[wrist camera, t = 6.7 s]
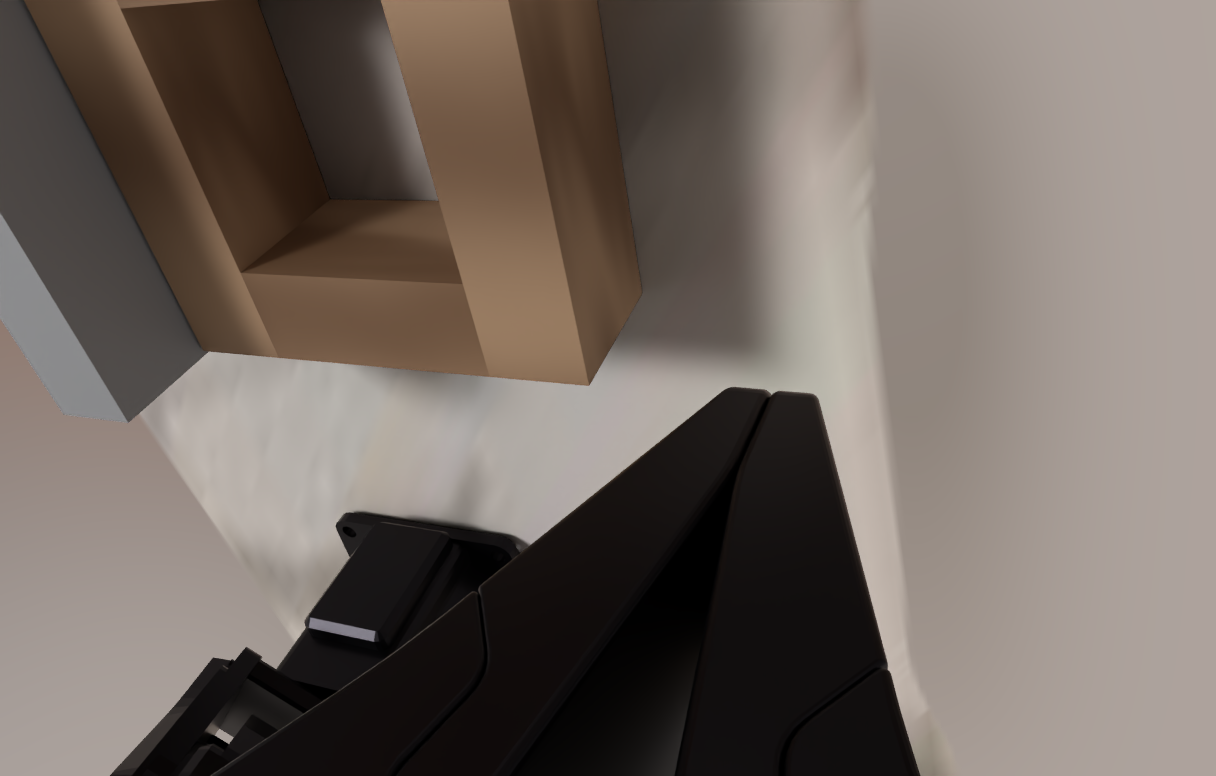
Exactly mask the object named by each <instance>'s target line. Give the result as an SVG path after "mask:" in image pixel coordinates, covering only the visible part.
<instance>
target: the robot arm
mask: <svg viewBox="0 0 1216 776" xmlns="http://www.w3.org/2000/svg"><path fill="white" fill-rule="evenodd" d="M336 529H337V531H338V533H339V536H340V538H341V540H342V542H343V544H344V546H345V548H346V550H347V552H348V554H349V557H350V558H349V559H348V561H347V562H346V564H345V565H344V566H343V568H342V569H341V570H340V572H339V573H338V575H337V576H336V577H335V579H334V580H333V582H332V583H331V584H330V586H329V587H328V588H327V590H326V591H325V593H324V594H323V595H322V597H321V598H320V599H319V601H318V602H317V604H316V605H315V606H314V608H313V609H312V610H311V612H310V613H309V615H308V616H307V617H306V620H305V626H306V629H305V630H304V631H303V633H302V634H301V636H300V637H299V638H298V640H297V641H296V642H295V644H294V645H293V647H292V648H291V649H290V651H289V652H288V654H287V655H286V657H285V658H284V660H283V661H282V662H281V663H280V665H279V666H278V668H277V669H275V668H273V667H271V666H270V665H268V664H267V663H265V662H263V661H262V660H261V658H262V656H260V655H259V654H257V653H255V652H254V651H252V650H251V649H249V648H247V647H246V648H245V649H244V650H243V651H242V653H241V654H240V655H239V656H238V657H237V659H236V660H235V661H234V660H233V659H232V660H231V661H230V660H224V659H218V658H213V659H212V660H211V661H210V662H209V663H208V665H207V666H206V667H205V669H204V670H203V671H202V672H201V674H200V675H199V676H198V677H197V679H196V680H195V681H194V682H193V684H192V685H191V686H190V687H189V689H188V690H187V691H186V692H185V694H184V695H183V696H182V697H181V699H180V700H179V701H178V702H177V704H176V705H175V706H174V707H173V708H172V709H171V710H170V711H169V713H168V714H167V715H166V716H165V717H164V718H163V719H162V720H161V721H160V722H159V723H158V725H157V726H156V727H155V728H154V729H153V730H152V731H151V732H150V733H149V734H148V735H147V736H146V738H144V739H143V741H142V742H141V743H140V744H139V745H138V746H137V747H136V748H135V749H134V750H133V751H132V752H131V753H130V755H129V756H128V757H127V758H126V759H125V760H124V761H123V762H122V763H121V764H120V765H119V766H118V767H117V768H116V769H115V770H114V772H113V773H112V774H111V775H110V776H920V774H919V770H918V767H917V764H916V760H915V757H914V754H913V751H912V747H911V744H910V741H909V737H908V734H907V731H906V728H905V724H904V721H903V718H902V714H901V711H900V707H899V703H898V700H897V696H896V692H895V688H894V684H893V680H892V676H891V673H890V672H889V670H887V669H888V663H887V659H886V655H885V652H884V648H883V644H882V640H881V636H880V632H879V629H878V625H877V621H876V617H875V613H874V610H873V606H872V602H871V598H870V594H869V590H868V587H867V583H866V579H865V575H864V571H863V568H862V564H861V560H860V556H859V552H858V548H857V545H856V541H855V537H854V533H853V529H852V525H851V522H850V518H849V514H848V510H847V506H846V503H845V499H844V495H843V491H842V487H841V483H840V480H839V476H838V472H837V468H836V464H835V461H834V457H833V453H832V449H831V445H830V441H829V438H828V434H827V430H826V426H825V422H824V419H823V415H822V411H821V407H820V403H819V400H818V398H817V397H816V396H815V395H814V394H811V393H799V392H787V391H777V392H775V393H773V394H772V395H771V394H770V393H769V392H768V391H767V390H764V389H752V388H740V387H730V388H727V389H725V390H724V391H722V392H721V393H720V394H718V395H717V396H716V397H715V398H714V399H712V400H711V401H710V402H709V403H707V404H706V405H705V406H704V407H702V408H701V409H700V410H699V411H697V412H696V413H695V414H694V415H692V416H691V417H690V418H689V419H687V420H686V421H685V422H684V423H682V424H681V425H680V426H679V427H677V428H676V429H675V430H674V431H672V432H671V433H670V434H669V435H667V436H666V437H665V438H664V439H662V440H661V441H660V442H659V443H657V444H656V445H655V446H654V447H652V448H651V449H650V450H649V451H647V452H646V453H645V454H644V455H642V456H641V457H640V458H639V459H637V460H636V461H635V462H634V463H632V464H631V465H630V466H629V467H627V468H626V469H625V470H624V471H622V472H621V473H620V474H619V475H617V476H616V477H615V478H614V479H612V480H611V481H610V482H609V483H607V484H606V485H605V486H604V487H602V488H601V489H600V490H599V491H597V492H596V493H595V494H594V495H592V496H591V497H590V498H589V499H587V500H586V501H585V502H584V503H582V504H581V505H580V506H579V507H577V508H576V509H575V510H574V511H572V512H571V513H570V514H569V515H567V516H566V517H565V518H564V519H563V520H561V521H560V522H559V523H558V524H556V525H555V526H554V527H553V528H551V529H550V530H549V531H548V532H546V533H545V534H544V535H543V536H541V537H540V538H539V539H538V540H536V541H535V542H534V543H533V544H531V545H530V546H529V547H528V548H526V549H525V550H524V551H523V552H521V553H520V554H519V553H518V549H517V548H516V546H515V544H514V543H513V542H512V541H510V540H509V539H507V538H505V537H502V536H498V535H491V534H485V533H479V532H472V531H466V530H459V529H453V528H447V527H440V526H434V525H427V524H421V523H414V522H408V521H402V520H395V519H389V518H382V517H376V516H370V515H363V514H357V513H345V514H343V516H342V517H341V518H340V520H339V521H338V522H337V524H336ZM219 729H221V730H223V731H224V732H226V733H228V734H229V735H231V736H233V737H234V738H233V740H232V741H231V742H230V744H228V743H226V742H224V741H223V740H221V739H220V738H218V737H216V736H215V734H216V732H217V731H218V730H219Z"/></svg>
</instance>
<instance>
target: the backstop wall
mask: <svg viewBox="0 0 1216 776" xmlns="http://www.w3.org/2000/svg"><path fill="white" fill-rule="evenodd" d="M0 319H1V321H2V322H3V324H4V325H5V327H6V328H7V330H8V331H9V333H10V334H11V336H12V337H13V339H14V340H15V342H16V343H17V345H18V346H19V348H20V349H21V351H22V352H23V354H24V355H25V357H26V358H27V360H28V361H29V363H30V364H31V366H32V368H33V369H34V370H35V372H36V374H37V375H38V376H39V378H40V380H41V381H42V382H43V384H44V386H45V387H46V388H47V390H48V392H49V393H50V395H51V396H52V398H53V399H54V401H55V402H56V404H57V405H58V407H59V408H60V410H61V411H62V413H63V414H64V415H71V416H79V417H87V418H95V419H103V420H110V421H118V422H126V423H129V422H130V421H131V420H132V419H133V418H134V417H135V416H137V415H138V414H139V413H140V412H141V411H142V410H143V409H144V408H146V407H147V406H148V405H149V404H150V403H151V402H152V401H154V400H155V399H156V398H157V397H158V396H159V395H160V394H161V393H163V392H164V391H165V390H166V389H167V388H168V387H169V386H170V385H172V384H173V383H174V382H175V381H176V380H177V379H178V378H179V377H181V376H182V375H183V374H184V373H185V372H186V371H187V370H188V369H190V368H191V367H192V366H193V365H194V364H195V363H196V362H197V361H199V360H200V359H201V358H202V357H203V356H204V355H205V354H207V353H208V352H209V351H203V349H202V347H201V345H200V343H199V341H198V339H197V337H196V336H195V334H194V332H193V330H192V328H191V326H190V324H189V322H188V320H187V318H186V316H185V314H184V312H183V310H182V308H181V306H180V304H179V302H178V300H177V298H176V296H175V294H174V293H173V291H172V289H171V287H170V285H169V283H168V281H167V279H166V277H165V275H164V273H163V271H162V269H161V267H160V265H159V263H158V261H157V259H156V257H155V255H154V253H153V251H152V250H151V248H150V246H149V244H148V242H147V240H146V238H145V236H144V234H143V232H142V230H141V228H140V226H139V224H138V222H137V220H136V218H135V216H134V214H133V212H132V210H131V208H130V207H129V205H128V203H127V201H126V199H125V197H124V195H123V193H122V191H121V189H120V187H119V185H118V183H117V181H116V179H115V177H114V175H113V173H112V171H111V169H110V167H109V165H108V164H107V162H106V160H105V158H104V156H103V154H102V152H101V150H100V148H99V146H98V144H97V142H96V140H95V138H94V136H93V134H92V132H91V130H90V128H89V126H88V124H87V122H86V121H85V119H84V117H83V115H82V113H81V111H80V109H79V107H78V105H77V103H76V101H75V99H74V97H73V95H72V93H71V91H70V89H69V87H68V85H67V83H66V81H65V79H64V78H63V76H62V74H61V72H60V70H59V68H58V66H57V64H56V62H55V60H54V58H53V56H52V54H51V52H50V50H49V48H48V46H47V44H46V42H45V40H44V38H43V36H42V35H41V33H40V31H39V29H38V27H37V25H36V23H35V21H34V19H33V17H32V15H31V13H30V11H29V9H28V7H27V5H26V3H25V1H24V0H0Z"/></svg>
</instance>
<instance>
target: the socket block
mask: <svg viewBox="0 0 1216 776" xmlns="http://www.w3.org/2000/svg"><path fill="white" fill-rule="evenodd" d="M24 1H25V3H26V5H27V7H28V9H29V11H30V13H31V15H32V17H33V19H34V21H35V23H36V25H37V27H38V29H39V31H40V33H41V35H42V36H43V38H44V40H45V42H46V44H47V46H48V48H49V50H50V52H51V54H52V56H53V58H54V60H55V62H56V64H57V66H58V68H59V70H60V72H61V74H62V76H63V78H64V79H65V81H66V83H67V85H68V87H69V89H70V91H71V93H72V95H73V97H74V99H75V101H76V103H77V105H78V107H79V109H80V111H81V113H82V115H83V117H84V119H85V121H86V122H87V124H88V126H89V128H90V130H91V132H92V134H93V136H94V138H95V140H96V142H97V144H98V146H99V148H100V150H101V152H102V154H103V156H104V158H105V160H106V162H107V164H108V165H109V167H110V169H111V171H112V173H113V175H114V177H115V179H116V181H117V183H118V185H119V187H120V189H121V191H122V193H123V195H124V197H125V199H126V201H127V203H128V205H129V207H130V208H131V210H132V212H133V214H134V216H135V218H136V220H137V222H138V224H139V226H140V228H141V230H142V232H143V234H144V236H145V238H146V240H147V242H148V244H149V246H150V248H151V250H152V251H153V253H154V255H155V257H156V259H157V261H158V263H159V265H160V267H161V269H162V271H163V273H164V275H165V277H166V279H167V281H168V283H169V285H170V287H171V289H172V291H173V293H174V294H175V296H176V298H177V300H178V302H179V304H180V306H181V308H182V310H183V312H184V314H185V316H186V318H187V320H188V322H189V324H190V326H191V328H192V330H193V332H194V334H195V336H196V337H197V339H198V341H199V343H200V345H201V347H202V349H203V351H210V352H221V353H232V354H244V355H255V356H266V357H277V358H288V359H299V360H310V361H321V362H332V363H343V364H354V365H365V366H376V367H387V368H398V369H409V370H420V371H432V372H443V373H454V374H465V375H476V376H487V377H498V378H509V379H520V380H531V381H542V382H553V383H564V384H575V385H586V386H589V385H590V383H591V382H592V380H593V378H594V376H595V375H596V373H597V371H598V369H599V368H600V366H601V364H602V362H603V361H604V359H605V357H606V355H607V354H608V352H609V350H610V349H611V347H612V345H613V343H614V342H615V340H616V338H617V336H618V335H619V333H620V331H621V329H622V328H623V326H624V324H625V322H626V321H627V319H628V317H629V315H630V314H631V312H632V310H633V308H634V307H635V305H636V303H637V302H638V300H639V298H640V296H641V295H642V288H641V281H640V275H639V269H638V262H637V256H636V249H635V243H634V236H633V230H632V223H631V217H630V210H629V204H628V197H627V191H626V185H625V178H624V172H623V165H622V159H621V152H620V146H619V139H618V133H617V126H616V120H615V113H614V107H613V100H612V94H611V88H610V81H609V75H608V68H607V62H606V55H605V49H604V42H603V36H602V29H601V23H600V16H599V10H598V3H597V0H381V3H382V6H383V10H384V13H385V17H386V20H387V24H388V27H389V31H390V34H391V37H392V41H393V44H394V48H395V51H396V55H397V58H398V62H399V65H400V69H401V72H402V75H403V79H404V82H405V86H406V89H407V93H408V96H409V100H410V103H411V107H412V110H413V113H414V117H415V120H416V124H417V127H418V131H419V134H420V138H421V141H422V145H423V148H424V151H425V155H426V158H427V162H428V165H429V169H430V172H431V176H432V179H433V183H434V186H435V189H436V193H437V196H438V200H439V201H417V200H339V199H330V198H329V195H328V193H327V190H326V187H325V184H324V182H323V179H322V176H321V174H320V171H319V168H318V165H317V163H316V160H315V157H314V154H313V152H312V149H311V146H310V144H309V141H308V138H307V135H306V133H305V130H304V127H303V124H302V122H301V119H300V116H299V113H298V111H297V108H296V105H295V103H294V100H293V97H292V94H291V92H290V89H289V86H288V83H287V81H286V78H285V75H284V73H283V70H282V67H281V64H280V62H279V59H278V56H277V53H276V51H275V48H274V45H273V43H272V40H271V37H270V34H269V32H268V29H267V26H266V23H265V21H264V18H263V15H262V13H261V10H260V7H259V4H258V2H257V0H24Z"/></svg>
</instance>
